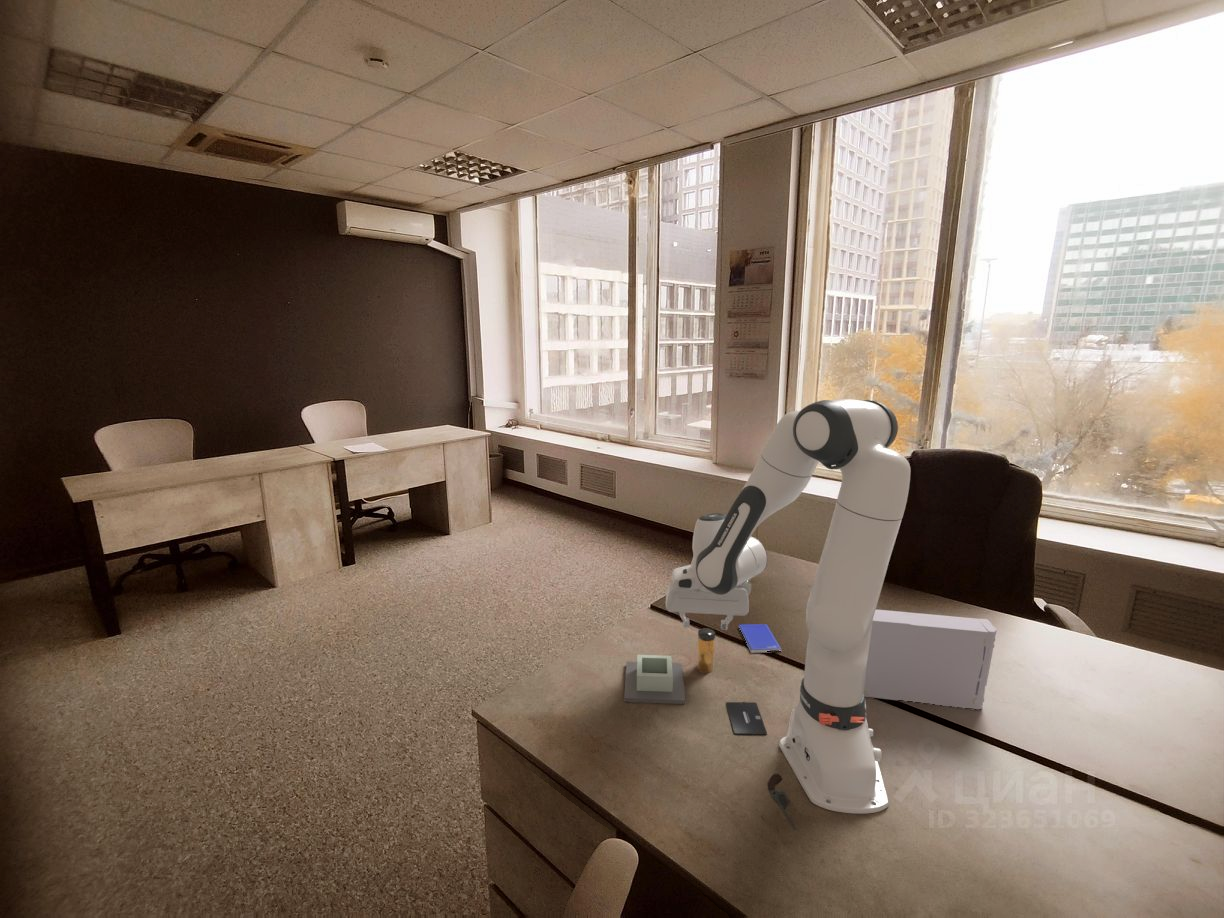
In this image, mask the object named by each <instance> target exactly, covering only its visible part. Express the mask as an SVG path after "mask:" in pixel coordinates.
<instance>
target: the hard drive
mask: <svg viewBox="0 0 1224 918" xmlns="http://www.w3.org/2000/svg"><path fill="white" fill-rule="evenodd" d="M739 628H740V629H739ZM738 629H739V631H740V630H741V632H742V634H743V636H744V638H745V640H746V642H745V644H746V643H747V644H746V646H747V647H748V649H749V651H750V653H751V654H756V653H757V654H758V653H763V654H764V653H768V652H767V651H770V650H779V651H781V652H782V648H781V646H780V644H779V643H778V641H777V639H776V638H775V636H774V634H773V632H772V631H771V630H770V628H769V626H768V624H766V623H759V624H758V623H752V624H751V623H749V624H739V625H738ZM741 632H740V633H741ZM742 634H741V635H742ZM743 636H742V637H743ZM744 638H743V639H744ZM745 640H744V641H745Z"/></svg>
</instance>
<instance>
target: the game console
mask: <svg viewBox="0 0 1224 918" xmlns="http://www.w3.org/2000/svg"><path fill="white" fill-rule="evenodd" d="M996 635H997V628H996V627H995V626H994V625H993V623H992V622H991V621H989V619H988V618H974V617H965V616H964V617H963V616H952V615H944V614H943V615H941V614H931V613H929V614H928V613H921V612H920V613H919V612H918V613H917V612H907V611H897V610H886V609H877V608H876V610H875V613H874V617H873V622H872V630H871V637H870V645H869V652H868V660H867V668H866V676H865V684H864V695H865V698H866V697H867V698H876V699H882V700H891V701H898V700H906V701H905V702H907V701H913V702H912V703H915V702H922V703H921V704H923V703H930V704H929V705H932V704H935V705H934V706H940V705H942V707H949V706H952V707H951V708H957V707H964V708H963V709H965V708H974V709H981V708H982V709H983V704H984V703H985V693H986V692H985V691H986V687H987V685H988V679H989V674H990V669H991V668H990V667H991V662H992V658H993V652H994V648H995V641H996ZM953 706H954V707H953ZM974 709H973V710H974ZM982 709H981V710H982Z"/></svg>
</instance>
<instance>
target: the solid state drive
mask: <svg viewBox="0 0 1224 918" xmlns="http://www.w3.org/2000/svg"><path fill="white" fill-rule="evenodd" d="M725 705H726V709H727V714H728V717H729V720H730V723H731V729H732V731H733V734H734V735H736V736H738V735H741V736H744V735H745V736H750V735H751V736H767V734H768V733H767V730H766V726H765V724H764V721H763V717H762V715H761V711H760V709H759V707H758V704H757V702H756V701H755V702H751V701H750V702H749V701H748V702H747V701H746V702H744V701H743V702H741V701H740V702H739V701H738V702H737V701H732V702H731V701H729V702H728V701H727V702H726V703H725Z"/></svg>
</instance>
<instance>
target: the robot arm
mask: <svg viewBox="0 0 1224 918" xmlns="http://www.w3.org/2000/svg"><path fill="white" fill-rule="evenodd" d="M898 424H899V423H898V419H897V417H896V415H895V413H894V412H893V411H892V409H890V408H889V407H888V406H887V405H885V404H883V403H881V402H878V401H874V400H870V399H863V400H861V399H860V400H859V399H853V398H836V399H830V400H829V399H824V400H817V401H815V402H813V403H811V404H808V405H806V406H804V407H803V408H802V409H801V410H793V411H790V412H787V413H786V414H784V415H783V416H782V417H781V418H780V419H779V420H778V422H777V424H776V425H775V427H774V428H773V430H772V431H771V433H770V435H769V436H768V438H767V440H766V443H765V444H764V446H763V448H762V451H761V453H760V455H759V457H758V459H757V461H756V463H755V465H754V468H753V469H752V471H751V473H750V475H749V477H748V478H747V481H746V482H745V484H744V486H743V487H742V488H741V491H740V492H739V494H738V496H737V497H736V499H735V500H734V501H733V503H732V505H731V507H730V509H729V511H728V513H727V514H725V513H720V512H717V513H716V512H713V513H707V514H704V515H701V516H700V517H698V518H697V520H696V522H695V525H694V530H693V535H692V544H691V545H692V553H693V556H692V560H691V564H688V565H684V566H680V567H676V568H674V569H672V573H671V574H672V575H671V577H672V578H671V580H670V581H669V582H668V585H667V590H666V594H665V609H666V610H667V611H668V613H669V612H670V613H679V617H680V618H681V620H682V628H686V629H687V628H690V618H689V617H686V613H688V614H703V615H704V614H707V615H722V616H726V617H725V619H721V620H720V629H721V630H725V631H726V630H728V628H729V624H730V623H731V622H732V621H733V619H734V616H740V617H741V616H742V617H743V616H747V614H749V609H750V603H749V602H750V601H749V596H750V594H751V592H752V584H751V582H750V580H751V579H753V578H754V577H756V576H758V575H760V574H761V573H762V572H764V571H765V570H766V568H767V566H768V552H767V550H766V547H765V546H764V544H763V543H762V542H761V541H760V540H759V539H758V538H757V537H755V536H752V535H753V533H754V532H755V531H756V529H757V528H758V527H759V525H760V524H761V523H762V522H764V521H765V520H766V519H767V518H769V517H770V516H771V515H773V514H775V513H776V512H778V511H779V510H781V509H784V508H785V507H787V506H788V505H790V504H792V503H793V502H794V501H796V500H797V499H798V498H799V497H800V495H801V494H802V493H803V491H804V490H805V489H806V488H807V486H808V485H809V483H810V481H811V478H812V476H813V474H814V473H815V471H816V468H817V466H818V464H819V463H820V464H821V465H823V466H824V467H825V468H826V469H828V470H832V471H833V470H840V472H841V478H842V479H841V483H840V487H839V492H838V494H837V499H836V502H835V505H834V506H835V507H834V510H833V513H832V517H831V519H830V520H831V521H830V525H829V528H828V532H827V536H826V539H825V542H824V545H823V550H822V552H821V556H820V558H819V562H818V564H817V565H818V566H817V569H816V572H815V576H814V579H813V583H812V586H811V589H810V592H809V597H808V600H807V604H806V607H805V609H806V611H805V615H806V616H805V618H806V619H805V620H806V627H807V630H808V639H807V645H806V650H805V651H806V652H805V653H806V654H805V663H804V664H805V665H804V675H803V678H802V679H801V683H800V686H799V687H800V688H799V700H798V703H797V704H796V705H795V706H793V708H792V710H791V712H790V717H789V723H788V728H787V733H786V734H787V735H786V736H784V737H782V738H781V739H780V741H779V744H778V745H779V748H780V750H781V751H782V754H783V755H784V757H785V759H786V761H787V762H788V765H790V767H791V769H792V771H793V773H794V774H795V777H796V778H797V780H798V782H799V783H800V785H801V787H802V788H803V790H804V792H805V794H806V795H807V797H808V799H809V801H810V802H811V803H812V804H814V805H816V806H818V807H821V808H822V809H825V810H829V811H833V812H838V813H846V814H859V815H860V814H863V815H865V814H872V813H878V812H881V811H884V810H885V809H887V808H888V806H889V798H888V795H887V791H886V787H885V783H884V779H883V776H882V773H881V772H882V771H881V769H880V764H879V762H882V756H883V755H882V754H883V753H882V750H881V748H879V747H874V745H873V744H872V739H871V737H874V729H873V728H870V727H869V724H868V720H867V712H866V711H867V704H866V696H865V695H864V684H865V676H866V668H867V660H868V652H869V645H870V637H871V630H872V622H873V617H874V613H875V610H876V609H877V606H878V601H879V599H880V596H881V591H882V589H883V584H884V581H885V577H886V574H887V570H888V568H889V567H888V566H889V562H890V560H891V556H892V553H893V550H894V546H895V544H896V539H897V536H898V534H899V530H900V526H901V523H902V519H903V517H904V513H905V510H906V507H907V506H906V505H907V503H908V497H909V492H910V491H909V490H910V483H911V472H912V471H911V466H910V462H909V461H908V460H907V458H906V457H905V456H903V455H902V454H901V453H899V452H898V451H896V450H894V449H890V448H889V447H890V446H891V445H892V444H893V443H894V442H895V440H896V438H897V436H898V435H897V434H898V431H899V425H898Z"/></svg>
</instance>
